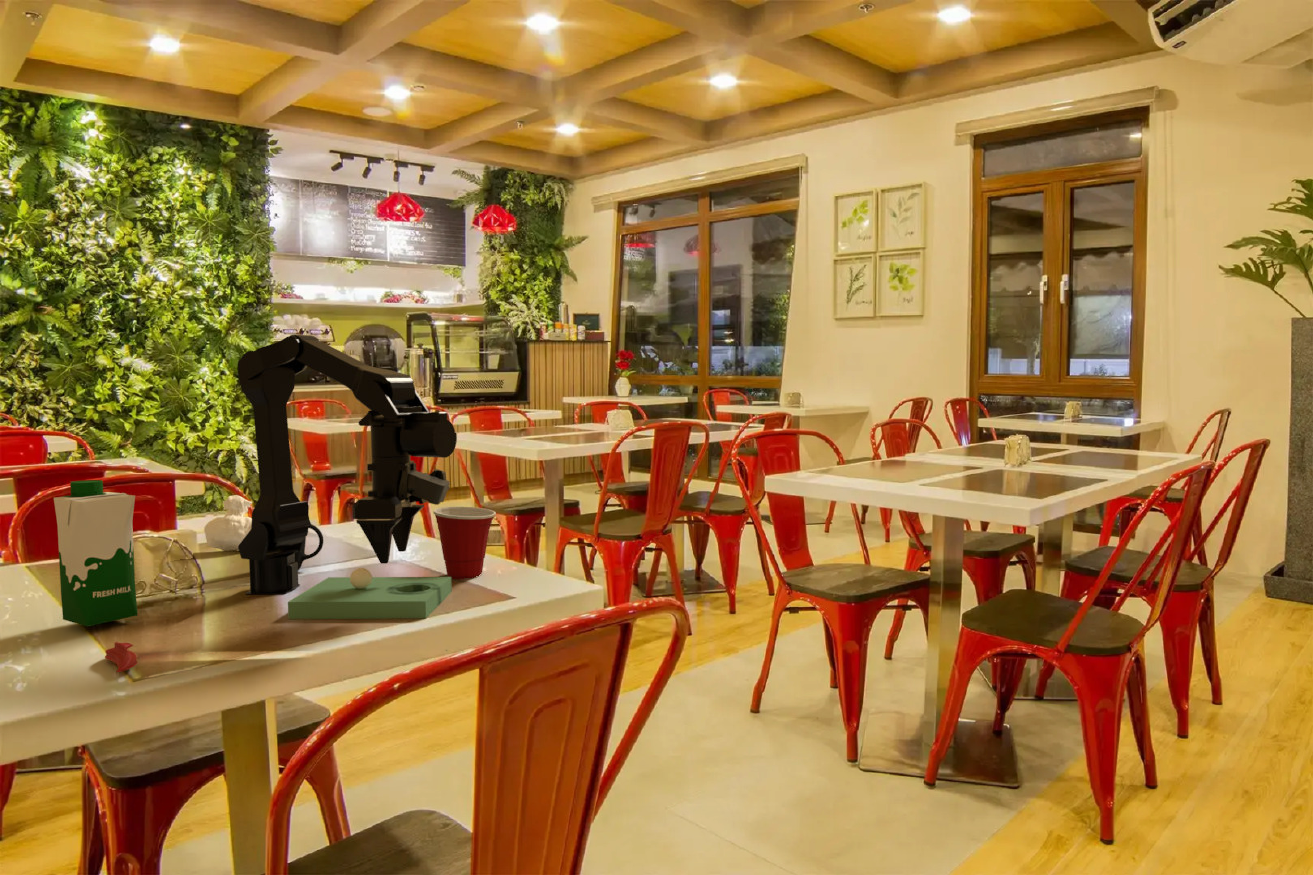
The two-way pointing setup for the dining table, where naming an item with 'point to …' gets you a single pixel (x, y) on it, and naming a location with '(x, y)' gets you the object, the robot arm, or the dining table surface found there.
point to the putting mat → (371, 598)
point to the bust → (229, 525)
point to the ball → (361, 578)
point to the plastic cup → (463, 539)
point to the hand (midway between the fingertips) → (393, 557)
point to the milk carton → (96, 554)
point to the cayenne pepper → (122, 656)
